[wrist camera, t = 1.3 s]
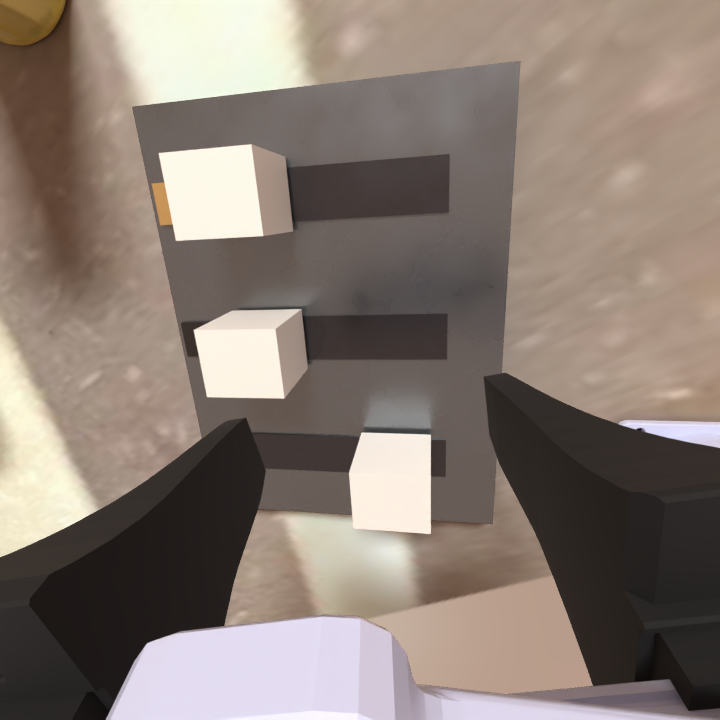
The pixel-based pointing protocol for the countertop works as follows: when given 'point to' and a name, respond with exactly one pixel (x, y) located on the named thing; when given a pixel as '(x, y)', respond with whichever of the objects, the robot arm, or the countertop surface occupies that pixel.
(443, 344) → the console
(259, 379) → the switch
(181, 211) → the switch
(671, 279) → the countertop surface
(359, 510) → the switch
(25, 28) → the vase
